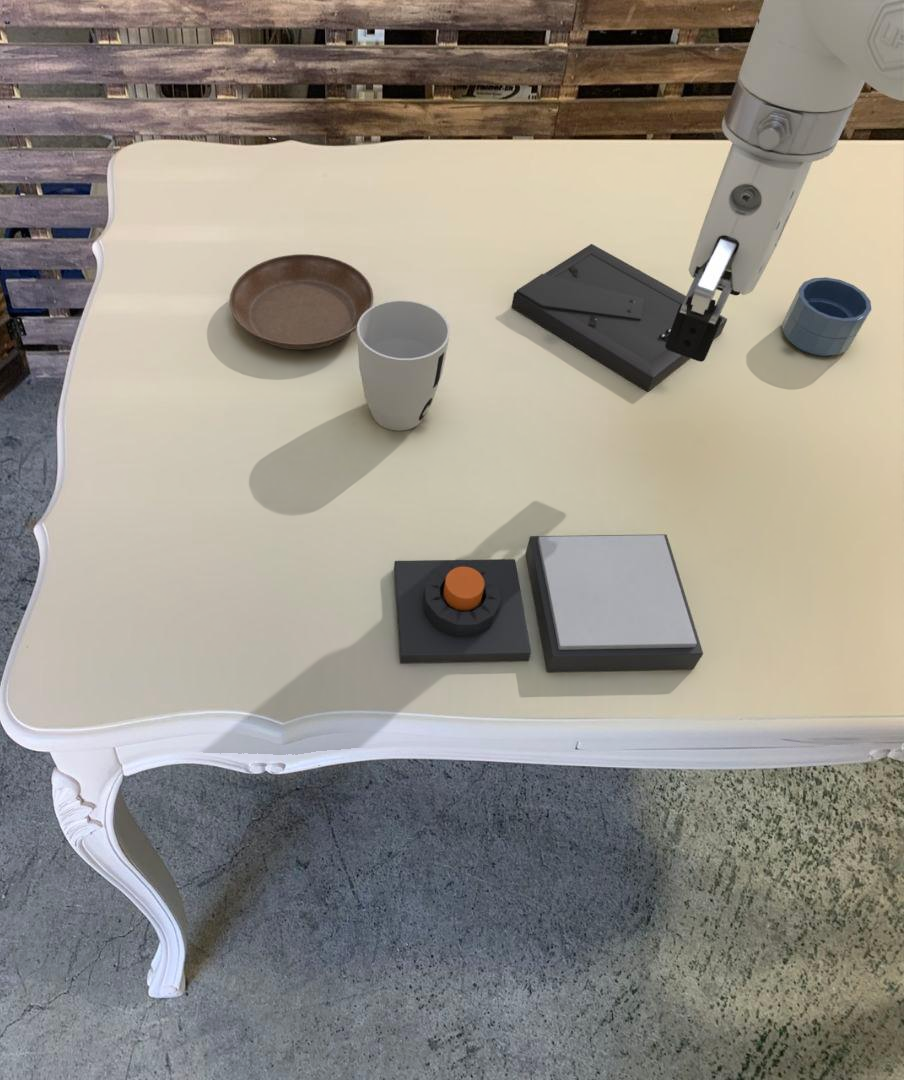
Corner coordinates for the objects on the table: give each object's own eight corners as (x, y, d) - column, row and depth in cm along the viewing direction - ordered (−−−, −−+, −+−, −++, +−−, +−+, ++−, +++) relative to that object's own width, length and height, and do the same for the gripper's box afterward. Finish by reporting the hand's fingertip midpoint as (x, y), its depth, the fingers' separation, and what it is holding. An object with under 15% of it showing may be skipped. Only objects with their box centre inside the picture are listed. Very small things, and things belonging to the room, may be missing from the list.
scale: (658, 551, 76) (669, 529, 74) (693, 669, 69) (706, 649, 67) (525, 553, 76) (531, 531, 74) (546, 672, 69) (554, 652, 67)
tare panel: (512, 567, 75) (518, 545, 73) (528, 661, 70) (535, 640, 67) (393, 568, 75) (395, 547, 72) (400, 663, 69) (402, 643, 67)
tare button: (479, 579, 71) (482, 566, 70) (483, 610, 69) (486, 598, 68) (441, 579, 71) (443, 566, 70) (445, 611, 69) (447, 598, 68)
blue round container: (846, 323, 96) (868, 284, 92) (850, 365, 92) (874, 326, 88) (779, 311, 97) (798, 272, 93) (780, 352, 93) (800, 313, 89)
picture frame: (511, 307, 96) (647, 392, 89) (514, 290, 94) (654, 375, 87) (587, 258, 102) (722, 333, 94) (591, 240, 100) (729, 316, 93)
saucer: (209, 345, 91) (206, 324, 89) (262, 263, 100) (260, 241, 98) (347, 377, 89) (347, 356, 87) (389, 290, 98) (390, 268, 96)
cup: (441, 443, 84) (451, 361, 76) (354, 441, 84) (355, 358, 76) (438, 384, 89) (448, 301, 81) (356, 381, 89) (358, 298, 81)
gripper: (811, 190, 54) (716, 399, 68) (870, 76, 63) (776, 280, 77) (691, 154, 56) (622, 364, 70) (765, 49, 65) (691, 252, 79)
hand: (703, 320), depth 73 cm, fingers open, 9 cm apart
